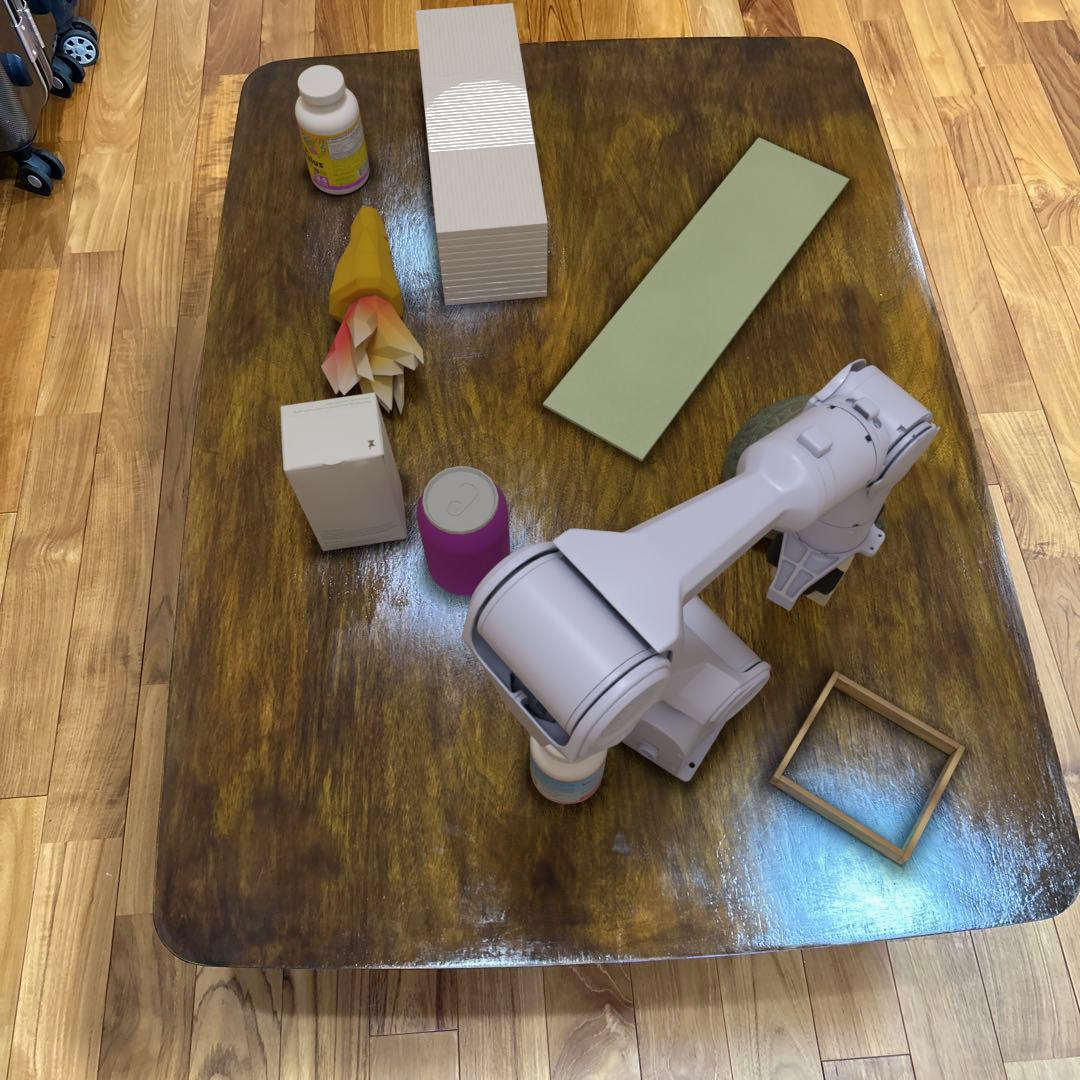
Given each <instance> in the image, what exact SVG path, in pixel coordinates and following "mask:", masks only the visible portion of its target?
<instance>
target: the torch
mask: <svg viewBox="0 0 1080 1080" xmlns="http://www.w3.org/2000/svg"><path fill="white" fill-rule="evenodd" d="M349 235H350V236H349V242H348V244H347V245H346V248H345V250H344V252H343V253H342V255H341V257H340V259H339V261H338V263H337V264H336V268H335V272H334V276H333V278H332V283H331V287H330V290H329V294H328V313H329V315H330V317H332V318H333V319H334V320H336V322H338V323H339V324H340V327H339V329H338V330H337V333H336V335H335V337H334V340H333V341H332V344H331V345H330V349H329V351H328V353H327V355H326V356H325V358H324V360H323V361H322V364H321V365H320V367H321V369H322V371H323V373H324V375H325V377H326V379H327V381H328V382H329V385H330V386H331V388H332V390H333V392H334V393H335V395H338V394H339V393H340V392H341V393H342V395H343V396H345V395H346V394H347V393H348V392H349V391H350V390H351V389H352V388H354V386H355V385H357V383H358V384H359V388H360V390H361V394H367V393H374V392H375V394H376V397H377V400H378V404H379V405H381V406H382V408H383V409H384V410H385V411H386V412H387V413H388V414H390V411H392V410H393V403H394V402H393V401H394V400H395V403H396V405H397V408H398V411H399V414H400V415H402V413H403V409H404V406H405V375H404V369H405V367H406V368H408V369H410V370H413V371H415V370H416V368H417V367H418V366H419V364H421V365H424V363H425V362H424V361H425V360H424V351H423V348H422V346H421V345H420V344H419V342H418V340H416V338H415V337H414V336H413V334H412V333H411V331H410V330H409V329H408V327H407V326H406V324H405V323H404V321H403V320H402V317H403V316H404V307H403V305H404V304H403V296H402V290H401V286H400V284H399V281H398V278H397V275H396V272H395V269H394V264H393V257H392V252H391V246H390V242H389V238H388V234H387V231H386V227H385V223H384V221H383V219H382V217H381V214H380V212H379V210H378V209H377V208H375V207H373V206H370V205H369V206H361V207H360V208H359V210H358V212H357V214H356V216H355V217H354V220H353V221H352V224H351V226H350V234H349Z"/></svg>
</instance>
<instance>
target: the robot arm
mask: <svg viewBox="0 0 1080 1080" xmlns="http://www.w3.org/2000/svg"><path fill="white" fill-rule="evenodd" d="M813 395H814V396H813V397H812V398H811V399H810V400H809V401H808V402H807V404H806V406H805V408H804V410H803V411H802V413H801V414H800V415H798V416H797V417H795V418H794V419H792V420H790V421H789V422H787V423H786V424H784V425H782V426H781V427H779V428H778V429H776V430H774V431H773V432H771V433H770V434H768V435H766V436H765V437H763V438H761V439H760V440H758V441H757V442H755V443H754V444H752V445H750V446H749V447H748V448H746V450H745V451H744V452H743V454H742V455H741V457H740V459H739V461H738V466H737V470H736V477H734V478H732V479H730V480H728V481H726V482H724V483H723V482H722V483H720V484H717V485H715V486H713V487H712V488H709V489H708V490H707V489H706V491H704V492H701V493H699V494H698V495H696V496H693V497H691V498H689V499H687V500H686V501H683V502H681V503H679V504H677V505H675V506H673V507H671V508H669V509H667V510H665V511H663V512H661V513H659V514H657V515H655V516H654V517H651V518H649V519H648V520H645V521H642V522H641V523H639V524H637V525H635V526H633V527H631V528H629V529H627V530H625V531H623V532H621V531H610V530H599V529H589V528H588V529H586V528H576V527H575V528H569V529H567V530H565V531H564V532H562V533H561V534H559V535H558V536H557V537H555V538H554V539H552V541H550V540H549V541H540V542H532V543H528V544H526V545H524V546H522V547H519V548H517V549H515V551H512V552H510V555H508V556H507V557H506V558H504V559H503V560H502V561H501V562H499V563H498V564H497V565H496V566H495V567H494V568H493V569H492V570H491V571H490V572H489V573H488V574H487V575H486V576H485V577H484V578H483V580H482V581H481V582H480V584H479V585H478V586H477V588H476V589H475V591H474V593H473V595H472V596H470V600H469V603H468V609H467V612H466V617H465V620H464V625H463V630H462V633H461V638H462V639H461V640H462V641H463V643H464V644H465V645H466V647H467V648H468V649H469V651H470V652H471V653H472V655H473V656H474V657H475V659H476V660H477V662H478V663H479V664H480V665H481V667H482V668H483V669H484V671H485V672H486V674H487V676H488V678H489V679H490V681H491V683H492V684H493V686H494V688H495V690H496V692H497V693H498V696H499V697H500V698H501V700H502V702H503V704H504V705H505V707H506V708H507V710H508V711H509V712H510V713H511V714H512V715H513V717H515V719H516V720H517V721H518V722H519V723H520V725H521V726H522V727H523V728H524V729H525V730H526V731H527V732H528V734H529V735H531V736H532V737H533V738H534V739H535V740H536V741H537V743H538V744H539V745H540V746H541V747H544V746H547V745H550V744H551V745H552V746H553V747H554V748H555V749H556V750H557V751H558V752H560V753H561V754H562V755H563V756H564V757H565V758H566V759H567V760H569V761H570V762H573V761H575V760H578V759H580V758H587V757H590V756H592V755H594V754H597V753H599V752H601V751H603V750H606V749H610V748H613V747H614V746H616V745H619V744H620V743H623V744H625V745H626V746H628V747H629V748H630V749H632V750H634V751H635V752H636V753H638V754H640V755H641V756H642V757H645V758H646V759H648V760H649V761H650V762H653V763H654V764H655V765H657V766H659V767H660V768H662V769H663V770H664V771H666V772H668V773H669V774H671V775H673V776H674V777H676V778H677V779H679V780H680V781H682V782H684V783H687V782H690V781H691V780H692V778H693V776H694V775H695V773H696V772H697V770H698V768H699V766H700V765H701V763H702V762H703V760H704V758H705V757H706V755H707V753H709V751H710V749H711V747H712V746H713V744H714V743H715V741H716V739H717V738H718V736H719V734H720V732H721V731H722V729H723V728H724V726H725V725H726V723H727V722H728V721H730V720H731V719H732V718H733V717H734V716H735V715H737V714H738V713H739V712H740V711H741V710H742V709H743V708H745V707H746V705H748V704H749V703H750V702H751V701H752V700H754V698H755V697H756V696H757V695H758V694H759V692H760V691H761V690H763V688H764V686H765V685H766V684H767V683H768V681H769V680H770V677H771V665H770V664H769V663H768V661H765V660H762V659H761V658H760V657H759V655H758V654H756V653H755V652H754V650H752V649H751V648H750V647H749V646H748V645H747V644H746V643H745V642H744V641H743V640H742V639H741V638H740V637H739V636H738V635H737V634H736V632H734V631H733V630H732V629H731V628H730V627H729V626H728V625H727V624H726V623H725V622H724V621H723V620H722V619H721V617H719V616H718V615H717V614H716V613H715V612H714V611H713V610H712V609H711V608H710V607H709V606H708V605H707V604H706V603H705V602H704V601H703V600H702V599H701V598H700V597H699V596H698V594H700V593H701V592H702V591H703V590H705V588H706V587H708V586H709V585H710V584H711V583H712V582H713V581H714V580H715V579H717V578H718V577H719V576H720V575H722V574H723V573H724V572H725V571H726V570H727V569H728V568H729V567H730V566H731V565H733V564H734V563H735V562H736V561H738V559H740V558H741V557H742V556H743V555H744V554H746V552H747V551H749V550H750V549H751V548H752V547H753V546H754V545H756V544H757V543H758V542H759V541H760V540H761V539H762V538H764V535H766V534H767V533H768V532H769V531H770V530H771V529H774V530H776V531H780V532H784V534H782V533H780V532H779V533H778V534H777V536H776V537H775V539H774V540H772V541H771V543H770V545H769V546H768V548H767V550H766V555H765V560H766V562H767V563H768V564H769V565H771V566H772V567H773V566H774V567H776V568H777V572H776V575H775V578H773V580H772V582H771V584H770V585H769V586H768V589H767V592H766V596H765V598H766V599H768V600H769V601H771V602H773V603H775V604H776V605H778V606H780V607H781V608H783V609H785V610H787V611H788V612H789V611H790V612H791V610H792V609H793V607H794V606H795V604H796V603H797V600H798V598H799V597H800V596H801V595H802V594H803V595H802V596H803V597H806V595H809V594H811V593H813V592H815V591H818V592H820V593H822V594H824V595H827V594H829V593H830V592H832V591H833V590H834V589H835V587H836V586H837V584H838V583H839V584H840V582H841V581H840V579H841V578H842V576H843V575H844V576H845V574H844V572H843V571H842V570H840V569H838V568H836V567H837V566H839V565H840V564H841V563H843V562H844V561H846V560H847V559H848V558H850V557H851V556H853V555H855V554H862V555H864V556H866V557H869V558H870V557H874V556H875V555H876V554H877V552H878V551H879V549H880V548H881V546H882V544H883V543H884V541H885V539H886V534H885V532H884V531H882V530H880V529H878V528H877V527H876V526H875V523H876V522H877V520H878V519H879V517H880V516H882V514H883V512H884V510H885V508H886V507H885V506H886V503H885V502H886V501H887V499H888V496H889V495H890V493H891V491H892V489H893V487H894V486H895V485H896V484H897V483H899V482H900V481H901V480H902V479H903V478H904V477H905V476H906V475H907V474H908V472H909V471H910V470H912V469H911V468H912V467H913V466H914V464H915V463H916V462H917V461H918V460H919V459H920V457H922V455H923V454H924V453H925V452H926V450H927V449H928V447H930V445H931V443H932V442H933V440H934V439H935V437H936V435H937V434H938V432H939V430H940V429H941V427H940V426H937V425H936V424H935V423H933V422H932V420H933V416H934V414H933V413H932V411H930V410H929V409H928V408H927V407H925V405H923V404H921V403H920V402H919V401H918V400H917V399H916V398H915V397H913V396H912V395H911V394H910V393H908V392H907V391H906V390H905V389H903V388H902V387H901V386H900V385H899V384H897V383H896V382H895V381H894V380H893V379H891V378H890V377H889V376H888V375H887V374H885V373H884V372H883V371H882V370H881V369H880V368H878V367H877V366H876V365H873V364H870V365H868V366H867V360H866V359H865V358H859V359H856V360H854V361H852V362H850V363H848V364H847V365H846V366H844V367H843V368H842V369H841V370H840V371H839V372H838V373H836V375H834V376H833V377H832V378H831V380H829V381H828V382H827V384H826V385H824V387H822V388H821V389H820V390H819V391H818V392H816V393H815V394H813ZM844 576H843V577H844ZM842 579H843V578H842ZM842 579H841V580H842ZM839 581H840V582H839ZM839 584H838V585H839ZM837 587H838V586H837ZM837 587H836V588H837ZM835 590H836V589H835ZM835 590H834V591H835ZM690 764H693V765H694V767H691V766H690Z"/></svg>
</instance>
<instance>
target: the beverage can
mask: <svg viewBox="0 0 1080 1080" xmlns="http://www.w3.org/2000/svg"><path fill="white" fill-rule="evenodd" d="M416 506H417V507H416V513H415V516H416V520H417V526H418V530H419V535H420V540H421V544H422V549H423V553H424V556H425V563H426V567H427V571H428V573H429V575H430V576H431V578H432V579H433V581H434V582H435V584H436V585H438V586H439V587H440V588H441V589H443V590H444V591H445V592H447V593H449V594H452V595H455V596H459V597H472V595H473V593H474V591H475V589H476V588H477V586H478V585H479V584H480V582H481V581H482V580H483V578H484V577H485V576H486V575H487V574H488V573H489V572H490V571H491V570H492V569H493V568H494V567H495V566H496V565H497V564H498V563H499V562H501V561H502V560H503V559H504V558H506V557H507V556H508V555H510V554H511V538H510V521H509V519H510V518H509V507H508V504H507V499H506V496H505V494H504V492H503V491H502V490H501V489H500V487H499V485H497V484H496V482H494V481H493V479H491V477H490V476H489V475H487V474H486V473H484V472H483V471H482V470H480V469H477V468H474V467H472V466H464V465H463V466H462V465H457V466H452V467H448V468H445V469H443V470H442V471H440V472H437V473H436V474H435V475H434V476H433V477H432V478H431V479H430V480H429V481H428V482H427V484H426V487H425V488H424V490H423V492H422V494H421V496H420V497H419V499H418V501H417V504H416Z"/></svg>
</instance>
